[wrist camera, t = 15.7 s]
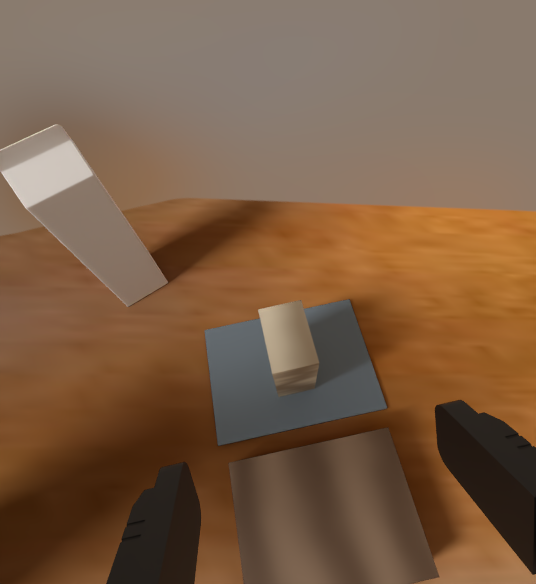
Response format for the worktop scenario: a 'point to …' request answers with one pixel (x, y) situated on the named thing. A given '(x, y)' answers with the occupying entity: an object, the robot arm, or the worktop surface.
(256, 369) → the rubber mat
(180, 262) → the worktop surface
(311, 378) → the birch block
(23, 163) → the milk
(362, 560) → the plate
